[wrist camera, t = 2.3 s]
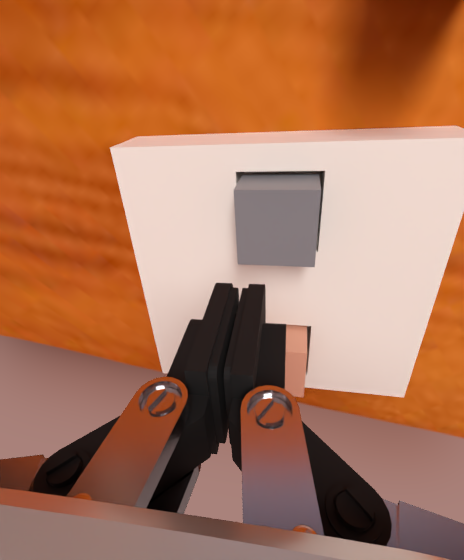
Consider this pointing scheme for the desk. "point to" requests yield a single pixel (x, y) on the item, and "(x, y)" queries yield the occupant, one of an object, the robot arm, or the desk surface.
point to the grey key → (277, 219)
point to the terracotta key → (295, 359)
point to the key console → (330, 239)
